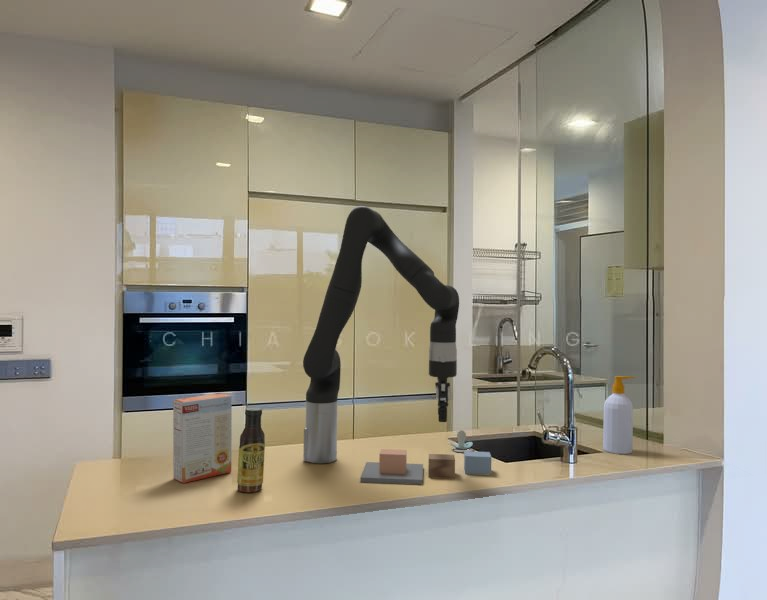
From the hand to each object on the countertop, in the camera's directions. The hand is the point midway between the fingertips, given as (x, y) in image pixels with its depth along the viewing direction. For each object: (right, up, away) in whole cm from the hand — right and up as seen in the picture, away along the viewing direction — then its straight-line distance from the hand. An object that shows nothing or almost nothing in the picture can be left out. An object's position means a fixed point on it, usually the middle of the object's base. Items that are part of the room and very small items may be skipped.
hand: (442, 418), depth 153 cm
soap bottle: (+59, -16, +27) cm, 67 cm away
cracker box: (-64, -15, -4) cm, 66 cm away
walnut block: (0, -15, 0) cm, 15 cm away
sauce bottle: (-49, -15, -14) cm, 53 cm away
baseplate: (-13, -15, -1) cm, 20 cm away
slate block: (+10, -16, +3) cm, 19 cm away
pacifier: (+9, -16, +25) cm, 31 cm away
